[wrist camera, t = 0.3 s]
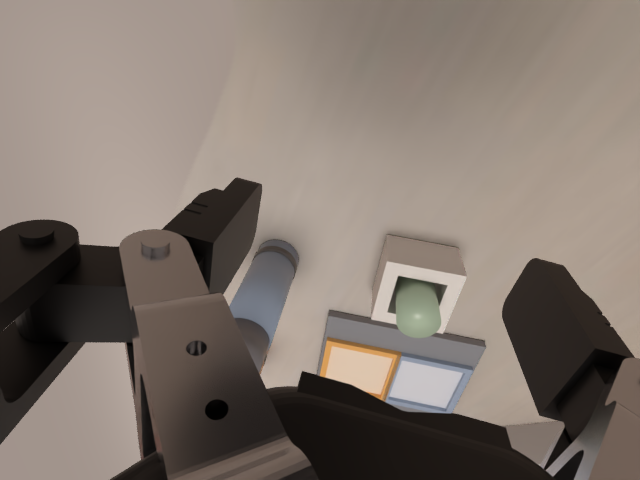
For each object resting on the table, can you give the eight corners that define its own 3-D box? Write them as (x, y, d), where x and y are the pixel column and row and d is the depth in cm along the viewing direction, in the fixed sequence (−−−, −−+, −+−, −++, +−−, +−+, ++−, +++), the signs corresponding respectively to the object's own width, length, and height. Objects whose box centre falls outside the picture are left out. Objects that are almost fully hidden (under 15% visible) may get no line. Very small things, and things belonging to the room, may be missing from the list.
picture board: (329, 310, 38) (327, 319, 37) (484, 341, 37) (487, 351, 36) (314, 388, 44) (312, 398, 43) (445, 416, 43) (447, 426, 42)
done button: (400, 266, 31) (402, 301, 28) (439, 273, 31) (447, 310, 28) (391, 296, 33) (391, 333, 29) (428, 303, 33) (434, 341, 29)
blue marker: (258, 235, 35) (198, 344, 24) (301, 243, 34) (261, 357, 23) (256, 270, 37) (200, 385, 26) (297, 278, 36) (258, 397, 25)
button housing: (387, 234, 33) (387, 261, 29) (458, 247, 32) (467, 276, 29) (372, 289, 36) (370, 319, 32) (437, 302, 35) (442, 333, 32)
